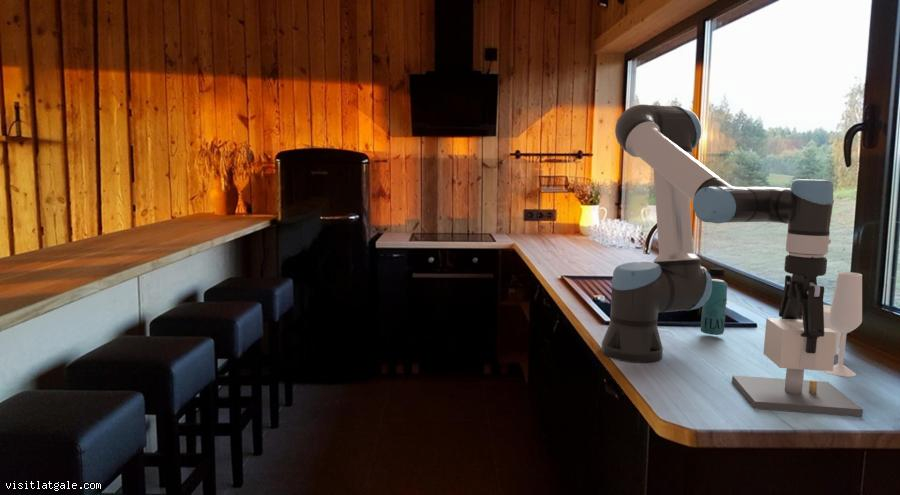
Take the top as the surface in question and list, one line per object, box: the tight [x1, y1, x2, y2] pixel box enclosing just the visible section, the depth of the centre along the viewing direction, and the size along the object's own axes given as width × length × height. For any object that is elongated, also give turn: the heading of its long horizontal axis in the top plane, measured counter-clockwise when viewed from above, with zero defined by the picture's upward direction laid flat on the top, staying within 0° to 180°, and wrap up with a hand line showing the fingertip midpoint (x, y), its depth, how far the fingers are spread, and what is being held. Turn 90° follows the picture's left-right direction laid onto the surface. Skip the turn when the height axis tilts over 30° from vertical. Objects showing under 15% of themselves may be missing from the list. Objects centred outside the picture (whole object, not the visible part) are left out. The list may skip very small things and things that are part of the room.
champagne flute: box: [824, 271, 863, 378], centre depth 149 cm, size 7×7×24 cm
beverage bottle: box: [700, 267, 728, 336], centre depth 178 cm, size 6×7×20 cm
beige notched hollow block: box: [763, 317, 837, 372], centre depth 131 cm, size 10×10×8 cm
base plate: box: [731, 368, 864, 418], centre depth 132 cm, size 20×16×6 cm
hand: (796, 359), depth 132 cm, fingers closed on beige notched hollow block, 10 cm apart
